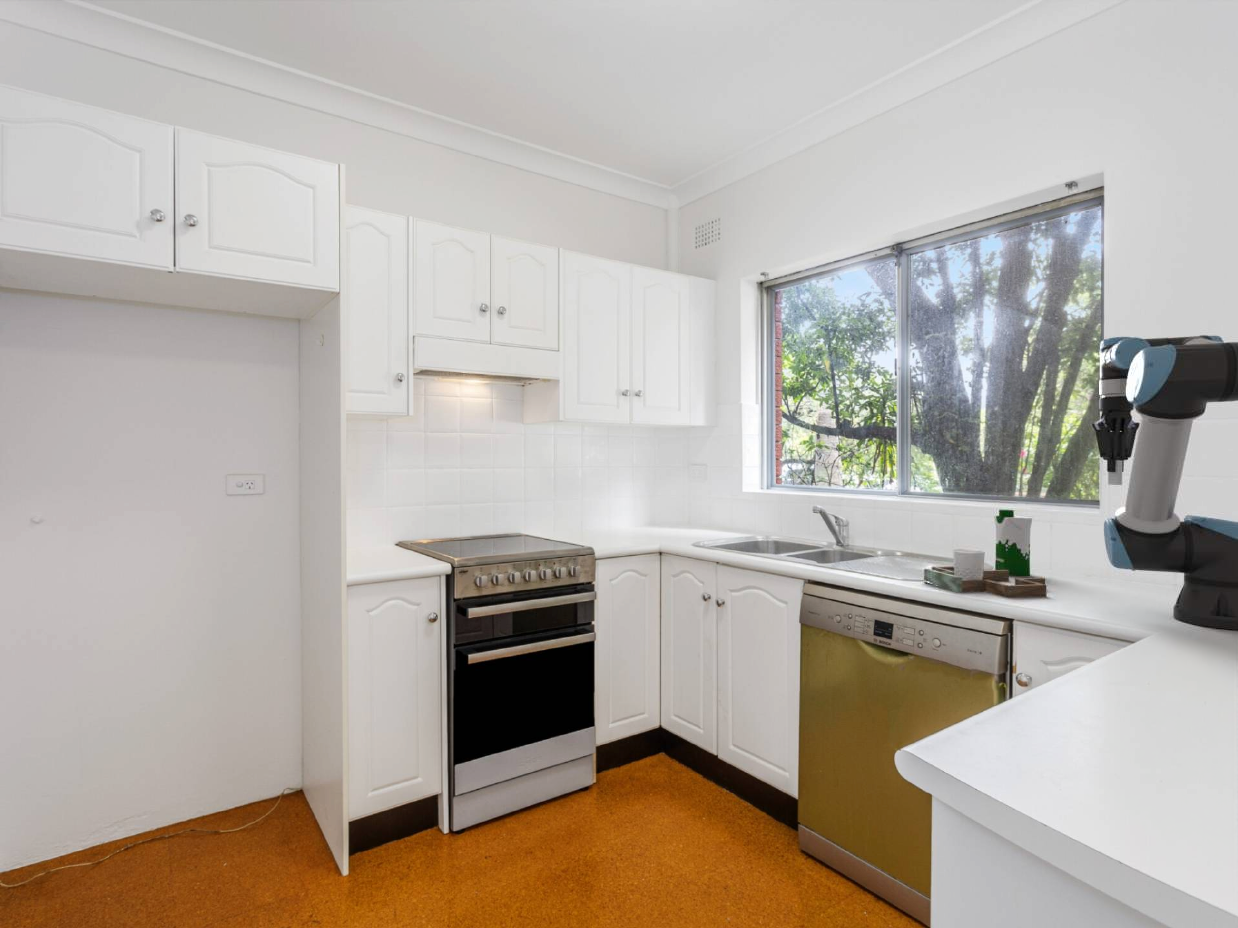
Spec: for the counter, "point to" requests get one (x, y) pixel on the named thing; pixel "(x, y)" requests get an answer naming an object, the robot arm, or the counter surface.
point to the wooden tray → (986, 583)
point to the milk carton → (1012, 543)
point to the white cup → (968, 564)
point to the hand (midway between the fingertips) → (1115, 484)
